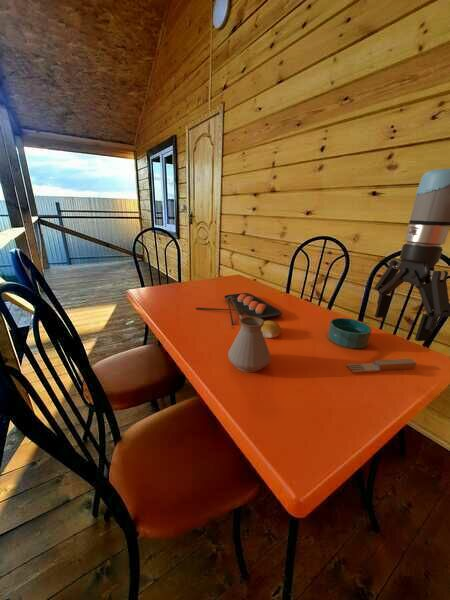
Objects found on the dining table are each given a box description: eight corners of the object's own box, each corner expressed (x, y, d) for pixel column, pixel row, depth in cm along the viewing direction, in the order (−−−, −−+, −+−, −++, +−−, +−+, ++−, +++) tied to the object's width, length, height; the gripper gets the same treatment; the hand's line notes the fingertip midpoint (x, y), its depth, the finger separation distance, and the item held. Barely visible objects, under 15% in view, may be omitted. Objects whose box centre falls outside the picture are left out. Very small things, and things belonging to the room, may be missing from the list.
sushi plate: (284, 318, 101) (285, 309, 100) (215, 330, 89) (215, 320, 87) (248, 296, 126) (249, 288, 124) (190, 303, 113) (190, 294, 112)
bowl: (352, 331, 91) (355, 317, 89) (376, 349, 80) (380, 333, 78) (320, 332, 89) (323, 318, 88) (340, 350, 78) (343, 334, 76)
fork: (407, 363, 72) (409, 357, 72) (416, 370, 69) (418, 363, 69) (346, 366, 70) (347, 360, 69) (353, 373, 67) (354, 367, 66)
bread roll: (282, 330, 90) (283, 319, 89) (277, 341, 83) (278, 329, 81) (259, 325, 93) (260, 315, 92) (252, 335, 86) (253, 324, 84)
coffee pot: (277, 372, 66) (283, 319, 61) (237, 380, 63) (240, 325, 58) (244, 335, 85) (247, 293, 80) (211, 340, 81) (212, 296, 77)
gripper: (371, 238, 70) (355, 309, 77) (463, 252, 46) (428, 353, 53) (396, 238, 71) (378, 309, 78) (498, 253, 47) (459, 352, 55)
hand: (398, 327), depth 66 cm, fingers open, 13 cm apart
